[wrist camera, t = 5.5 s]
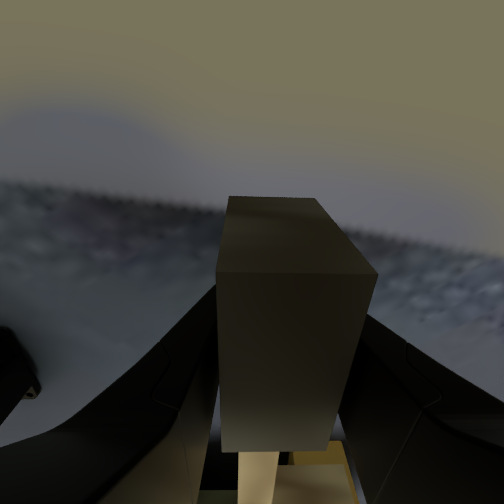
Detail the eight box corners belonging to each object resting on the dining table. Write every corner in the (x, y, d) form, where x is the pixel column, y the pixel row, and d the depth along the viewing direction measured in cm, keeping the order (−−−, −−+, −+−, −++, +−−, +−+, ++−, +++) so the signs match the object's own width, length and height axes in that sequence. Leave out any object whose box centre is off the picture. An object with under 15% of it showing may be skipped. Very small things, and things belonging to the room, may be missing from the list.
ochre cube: (286, 465, 26) (294, 529, 22) (291, 439, 24) (300, 504, 20) (332, 465, 26) (348, 529, 22) (340, 439, 24) (359, 504, 20)
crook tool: (230, 480, 18) (226, 597, 14) (228, 195, 9) (215, 271, 5) (337, 479, 19) (367, 592, 14) (439, 201, 10) (608, 277, 5)
